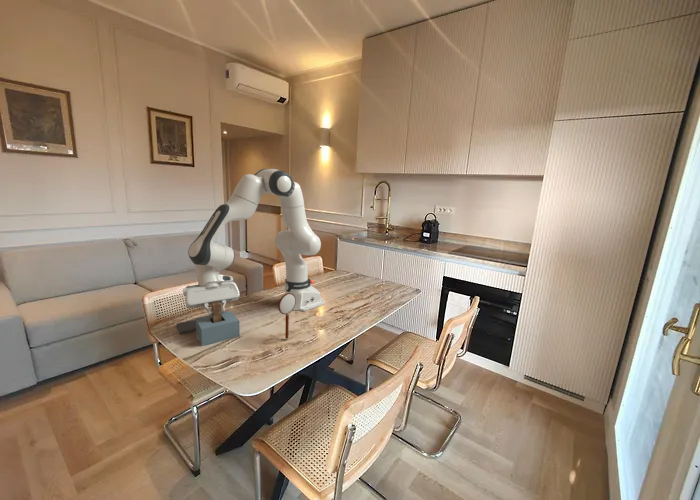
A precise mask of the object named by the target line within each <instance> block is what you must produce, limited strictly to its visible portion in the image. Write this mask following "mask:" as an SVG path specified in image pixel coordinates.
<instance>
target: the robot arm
mask: <svg viewBox="0 0 700 500" xmlns="http://www.w3.org/2000/svg"><path fill="white" fill-rule="evenodd" d="M301 188H302V187H301V185H300V184H299V183H298V182H296V181H294V180H293V178H292V176H291V175H290V174H289V173H288V172H286V171H285V170H282V169H281V170H280V169H276V168H262V169H260V170H257V172H255V174H252V173H251V174H250V173H248V174H247V173H246V174H244V175H243V176H241V178H240V180H239V181H238V182H237V184H236V186H235V188H234V190H233V192H232V193H231V195H230V198H229V199H228V200H227V201H226V202H225V203H223V204H220V205H219V206H218V207H217V208H216V209H215V211H214V212H213V213H212V214H211V216H210V218H209V220H208V221H207V222H206V224H205V225H204V227H203V228H202V231H201V232H200V234H199V235H198V236H197V237H196V238H195V240H194V241H192V243H191V244H190V246H189V247H188V251H187V252H188V253H187V254H188V257H189V260H190V261H191V262H192V263H193V265H194V270H195V272H196V274H197V276H196V277H197V278H196V279H197V284H194V285H192V284H191V285H187V286H186V287H184V288H183V289H182V293H183V296H184V297H185V306H186V308H187V309H195V308H201V307H203V309H204V310H205V311H206V312H207V313H208V316H209V315H213V309H212V308H210V307H209V306H212V305H211V303H215V302H220V303H221V308H222V313H223V312H226V308H225V307H226V304H227V303H230V302H233V301H238V300H239V299H240V296H241V295H240V294H241V292H240V290H239V288H238V285H237V283H235V281H234V278H233V277H234V276H231V275H225V274H221V273H220V272H221V271H224V270H225V269H227V268H229V267H231V266H232V265H233V263H234V262H235V257H236V256H235V250H234V249H233V248H232V247H230V246H227V245H225V244H220V243H216V242H214V241H215V239H216V237H217V236H218V234H219V233H220V231H221V230H222V228H223V227H224V226H225V225H226V224H227V223H231V222H234V221H235V222H236V221H237V222H238V221H245V220H248V219H250V218H252V216H254V214H255V212H256V210H257V208H258V206H259V203H260V201H261V199H262V197H263V196H264V195H265V194H268V195H273V196H274V195H275V196H277V197H279V201H280V210H281V215H282V221H283V223H284V224H285V226H286V227H288V228H289V230H286V229H285V230H281V231H278V232H277V234H276V235H275V237H274V244H275V247H277V249H278V250H279V251H280V253H281V254H282V258H283V260H284V264H285V279H284V291H285V292H284V293H285V294H287V293H292V294H293V295H294V296H295V298H296V304H295V307H294V309H293V310H292V311H301V312H307V311H310V310H311V309H315V308H318V307H320V306H323V305H325V304H326V301H325V299H324V298H322V296H321V292H320V291H319V290H318V289H317V288H316V287H314V286H313V285H314V283H315V280H314V279H310V278H308V277H309V264H308V263H307V262H306V261H305V260H304V259H303V256H302V255H304V256H314V255H315V256H316V255H318V253H319V252H320V250H321V248H322V247H321V246H322V242H321V239H320V237H319V236H318V235H317V234H316V233H315V232H314V231H313V230H312V228H311V227H310V224H309V222H308V219H307V214H306V209H305V207H306V206H305V201H304V196H303V195H304V194H303V191H302V189H301ZM285 294H284V295H285Z"/></svg>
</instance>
